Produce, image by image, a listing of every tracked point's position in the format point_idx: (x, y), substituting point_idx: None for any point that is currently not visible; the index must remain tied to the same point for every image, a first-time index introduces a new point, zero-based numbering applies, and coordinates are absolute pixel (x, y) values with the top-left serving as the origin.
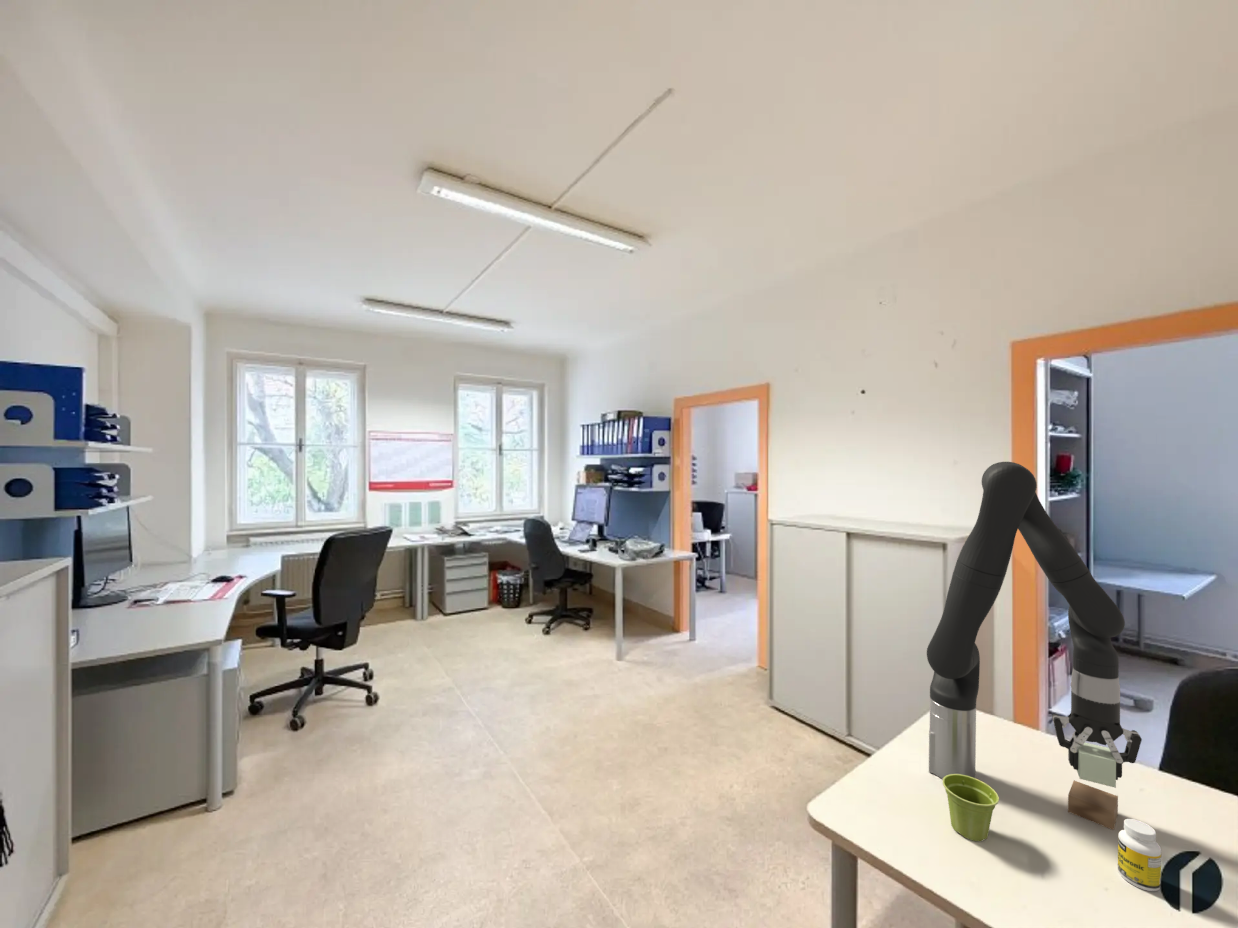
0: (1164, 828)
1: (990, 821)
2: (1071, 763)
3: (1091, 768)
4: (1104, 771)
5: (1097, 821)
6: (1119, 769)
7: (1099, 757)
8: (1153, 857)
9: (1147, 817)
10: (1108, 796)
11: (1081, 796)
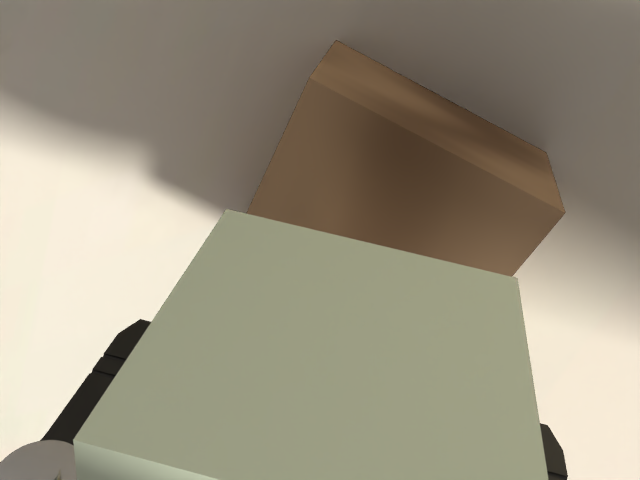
0: (67, 161)
1: None
2: (545, 443)
3: (411, 354)
4: (279, 322)
5: (409, 83)
6: (107, 385)
7: None
8: None
9: (119, 231)
10: None
11: (468, 213)
